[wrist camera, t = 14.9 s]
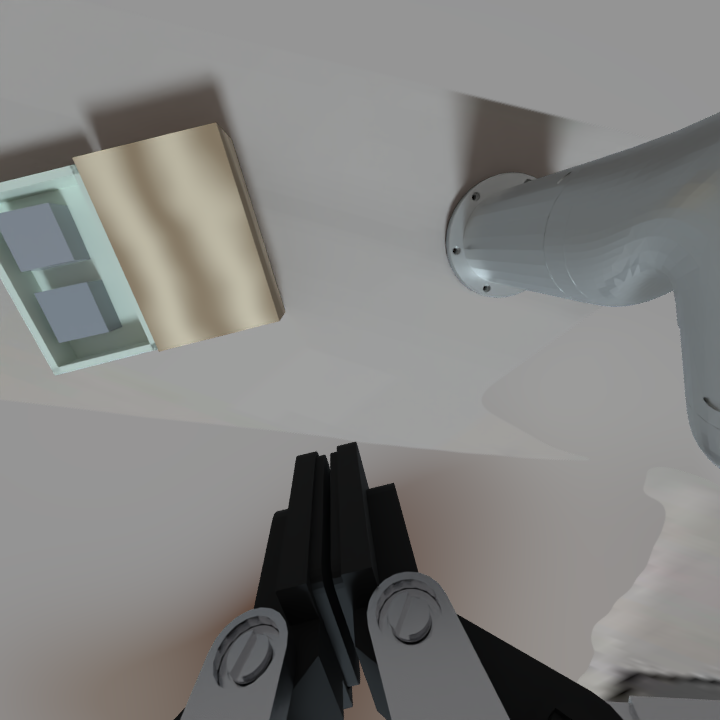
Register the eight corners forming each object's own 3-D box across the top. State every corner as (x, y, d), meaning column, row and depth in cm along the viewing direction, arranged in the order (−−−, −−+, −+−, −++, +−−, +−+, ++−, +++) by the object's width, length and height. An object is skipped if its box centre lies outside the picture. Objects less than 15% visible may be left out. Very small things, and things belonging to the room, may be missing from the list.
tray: (102, 171, 33) (77, 163, 30) (174, 340, 39) (159, 348, 35) (-10, 199, 33) (-47, 194, 30) (78, 364, 38) (54, 375, 35)
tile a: (33, 293, 33) (52, 290, 35) (59, 343, 35) (75, 337, 37) (86, 281, 33) (101, 279, 35) (109, 332, 35) (122, 326, 37)
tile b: (-8, 214, 31) (15, 217, 33) (21, 271, 32) (41, 270, 35) (48, 202, 31) (67, 205, 33) (74, 260, 33) (91, 259, 35)
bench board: (231, 139, 33) (216, 122, 29) (285, 312, 39) (279, 321, 34) (108, 170, 33) (72, 157, 28) (179, 338, 39) (158, 351, 34)
